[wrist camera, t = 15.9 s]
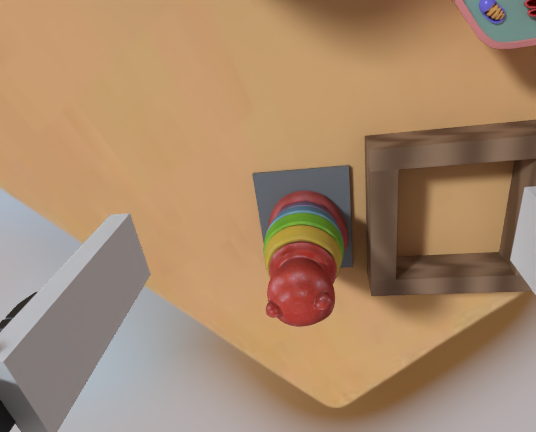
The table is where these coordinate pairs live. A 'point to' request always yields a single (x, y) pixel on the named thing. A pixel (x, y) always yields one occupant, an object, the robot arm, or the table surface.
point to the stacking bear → (303, 257)
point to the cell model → (501, 21)
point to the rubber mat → (313, 179)
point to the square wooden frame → (431, 155)
